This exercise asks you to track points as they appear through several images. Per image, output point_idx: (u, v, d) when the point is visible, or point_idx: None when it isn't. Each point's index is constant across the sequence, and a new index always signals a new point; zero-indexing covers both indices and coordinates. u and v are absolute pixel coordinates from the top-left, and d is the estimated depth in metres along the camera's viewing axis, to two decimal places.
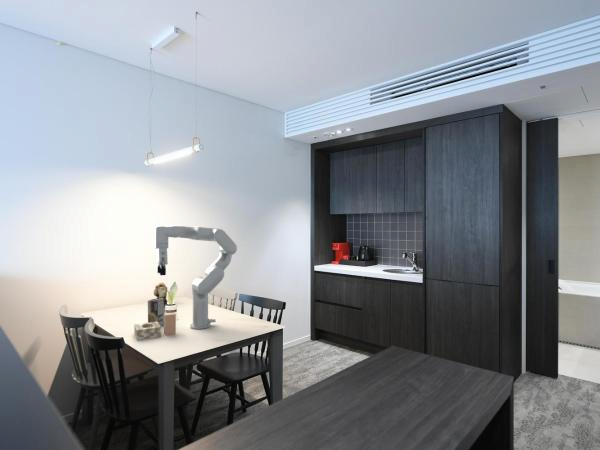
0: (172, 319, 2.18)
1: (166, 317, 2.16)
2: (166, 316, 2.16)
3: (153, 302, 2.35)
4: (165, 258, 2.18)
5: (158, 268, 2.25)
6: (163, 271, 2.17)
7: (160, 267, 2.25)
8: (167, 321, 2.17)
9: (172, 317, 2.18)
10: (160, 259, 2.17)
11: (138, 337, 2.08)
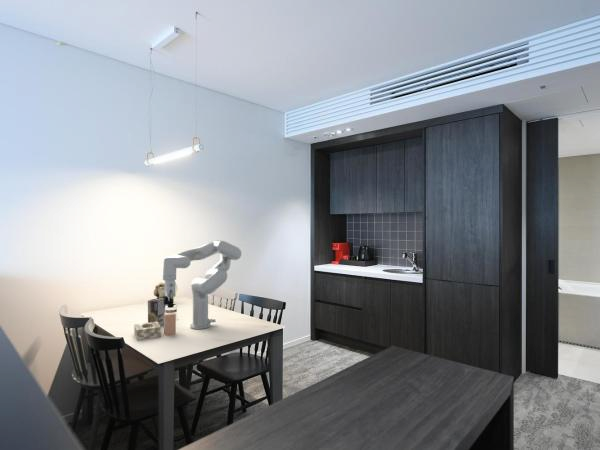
0: (172, 319, 2.18)
1: (166, 317, 2.16)
2: (166, 316, 2.16)
3: (153, 302, 2.35)
4: (173, 290, 2.15)
5: (165, 299, 2.22)
6: (171, 303, 2.14)
7: (167, 298, 2.23)
8: (167, 321, 2.17)
9: (172, 317, 2.18)
10: (168, 291, 2.14)
11: (138, 337, 2.08)
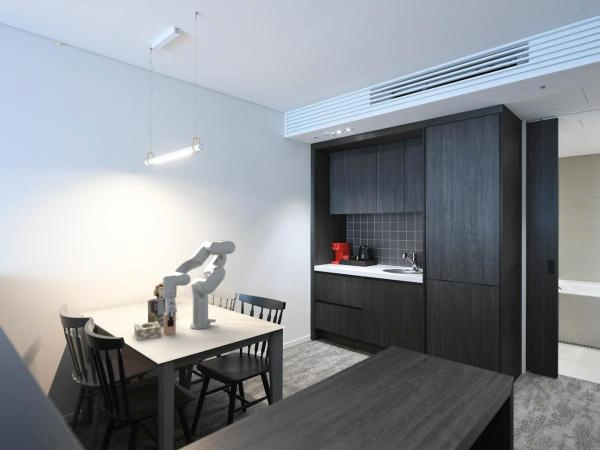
0: None
1: (166, 317, 2.16)
2: (166, 316, 2.16)
3: (153, 302, 2.35)
4: (173, 308, 2.15)
5: None
6: (171, 322, 2.16)
7: None
8: (167, 321, 2.17)
9: None
10: (168, 312, 2.14)
11: (138, 337, 2.08)
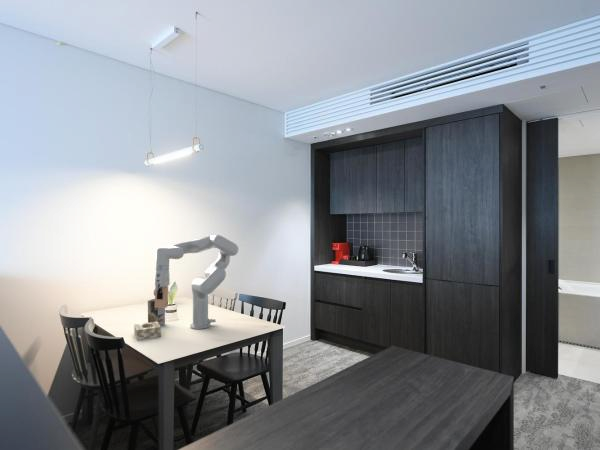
0: None
1: None
2: None
3: (153, 302, 2.35)
4: (160, 281, 2.13)
5: None
6: (159, 295, 2.14)
7: None
8: None
9: None
10: (155, 284, 2.13)
11: (138, 337, 2.08)
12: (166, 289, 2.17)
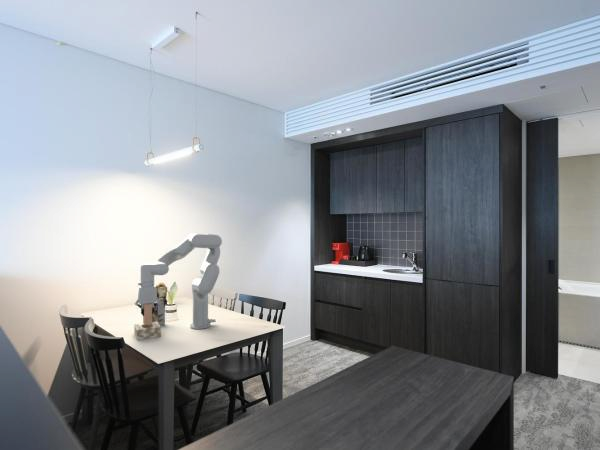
0: None
1: None
2: None
3: None
4: (138, 297, 2.13)
5: None
6: (141, 311, 2.15)
7: None
8: None
9: None
10: None
11: (138, 337, 2.08)
12: (147, 306, 2.14)
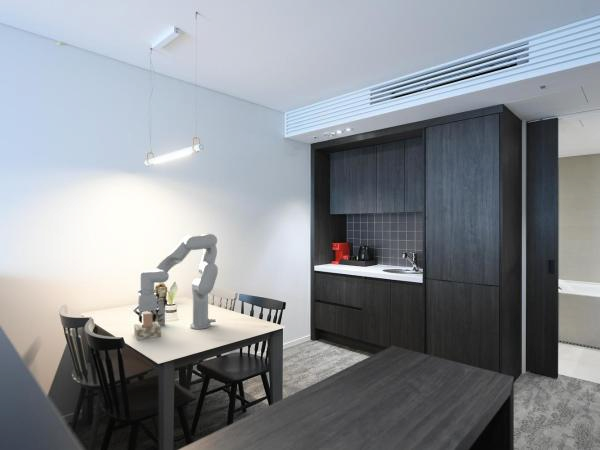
0: (144, 318, 2.15)
1: (143, 314, 2.18)
2: (143, 313, 2.18)
3: None
4: (138, 305, 2.13)
5: None
6: (139, 318, 2.14)
7: (153, 315, 2.18)
8: (143, 319, 2.17)
9: (144, 316, 2.15)
10: None
11: (138, 337, 2.08)
12: (147, 316, 2.14)
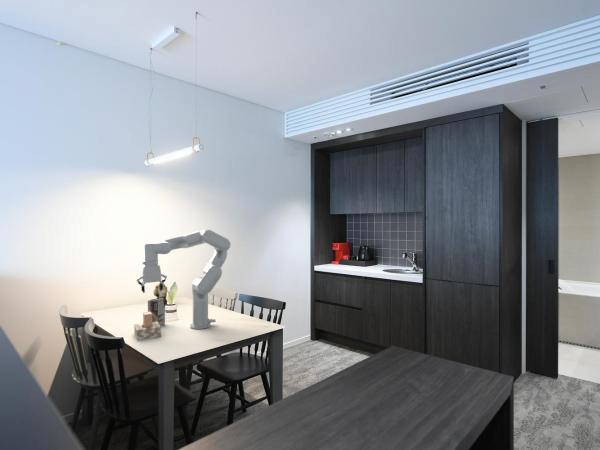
0: (144, 318, 2.15)
1: (143, 314, 2.18)
2: (143, 313, 2.18)
3: (153, 302, 2.35)
4: (143, 276, 2.15)
5: (159, 285, 2.23)
6: None
7: (159, 284, 2.22)
8: (143, 319, 2.17)
9: (144, 316, 2.15)
10: None
11: (138, 337, 2.08)
12: (147, 316, 2.14)
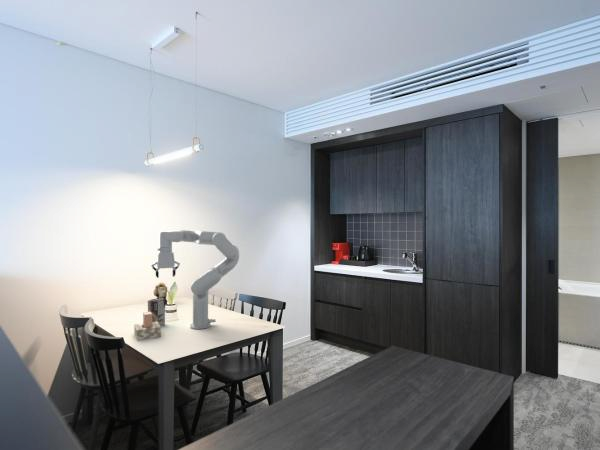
0: (144, 318, 2.15)
1: (143, 314, 2.18)
2: (143, 313, 2.18)
3: (153, 302, 2.35)
4: (157, 262, 2.27)
5: None
6: None
7: (173, 271, 2.33)
8: (143, 319, 2.17)
9: (144, 316, 2.15)
10: None
11: (138, 337, 2.08)
12: (147, 316, 2.14)
